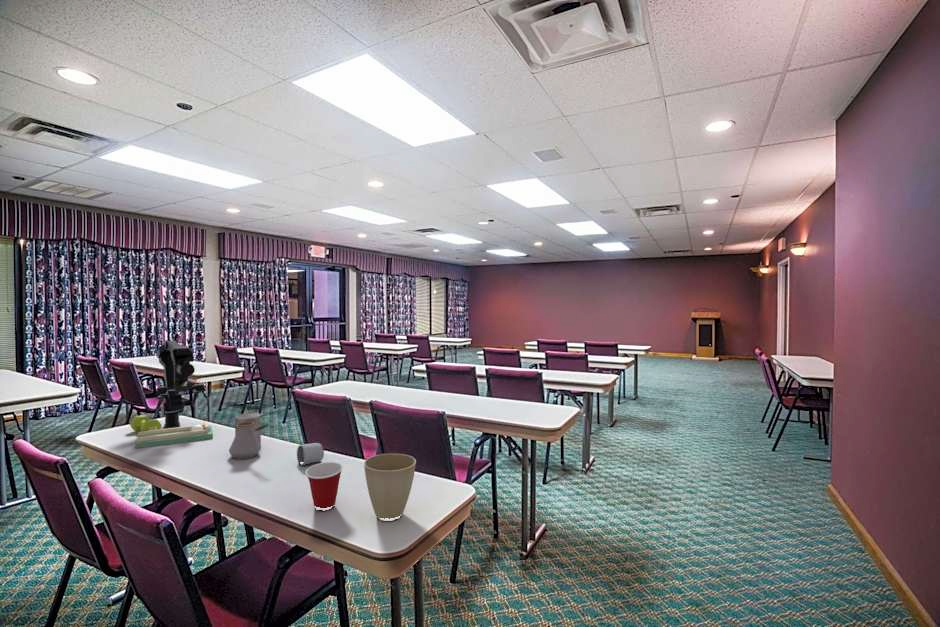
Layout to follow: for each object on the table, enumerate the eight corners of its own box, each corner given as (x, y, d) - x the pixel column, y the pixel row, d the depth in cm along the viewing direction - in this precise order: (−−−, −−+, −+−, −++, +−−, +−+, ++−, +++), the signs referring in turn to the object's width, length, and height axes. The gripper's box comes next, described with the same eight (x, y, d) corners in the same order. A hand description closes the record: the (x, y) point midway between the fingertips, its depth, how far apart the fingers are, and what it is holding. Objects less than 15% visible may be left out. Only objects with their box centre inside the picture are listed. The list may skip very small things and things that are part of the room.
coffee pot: (223, 457, 179) (223, 419, 179) (250, 449, 189) (250, 413, 188) (254, 468, 168) (254, 428, 167) (282, 459, 177) (282, 421, 177)
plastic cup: (296, 510, 134) (297, 470, 134) (324, 497, 143) (324, 459, 143) (323, 519, 129) (323, 477, 129) (350, 504, 138) (350, 465, 138)
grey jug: (240, 444, 195) (240, 409, 195) (264, 443, 196) (264, 409, 196) (231, 451, 186) (230, 415, 185) (256, 451, 187) (255, 415, 186)
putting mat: (138, 438, 202) (138, 427, 202) (211, 429, 217) (211, 419, 217) (135, 448, 188) (135, 436, 188) (212, 438, 203) (212, 427, 203)
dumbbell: (162, 434, 208) (162, 418, 208) (142, 438, 202) (142, 422, 202) (148, 428, 218) (148, 413, 218) (128, 432, 211) (128, 416, 211)
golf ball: (201, 424, 210) (189, 430, 208) (199, 421, 206) (187, 427, 204) (206, 433, 209) (194, 439, 206) (204, 430, 205) (192, 436, 202)
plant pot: (402, 531, 122) (403, 473, 122) (353, 524, 126) (354, 467, 126) (423, 508, 137) (423, 455, 136) (378, 501, 141) (379, 450, 140)
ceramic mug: (325, 463, 174) (325, 443, 174) (304, 468, 168) (304, 447, 168) (313, 456, 181) (313, 437, 181) (292, 461, 176) (292, 441, 176)
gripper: (155, 378, 199) (156, 413, 199) (205, 374, 209) (205, 408, 209) (157, 374, 208) (157, 408, 208) (204, 371, 218) (204, 403, 218)
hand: (181, 407), depth 211 cm, fingers open, 9 cm apart
